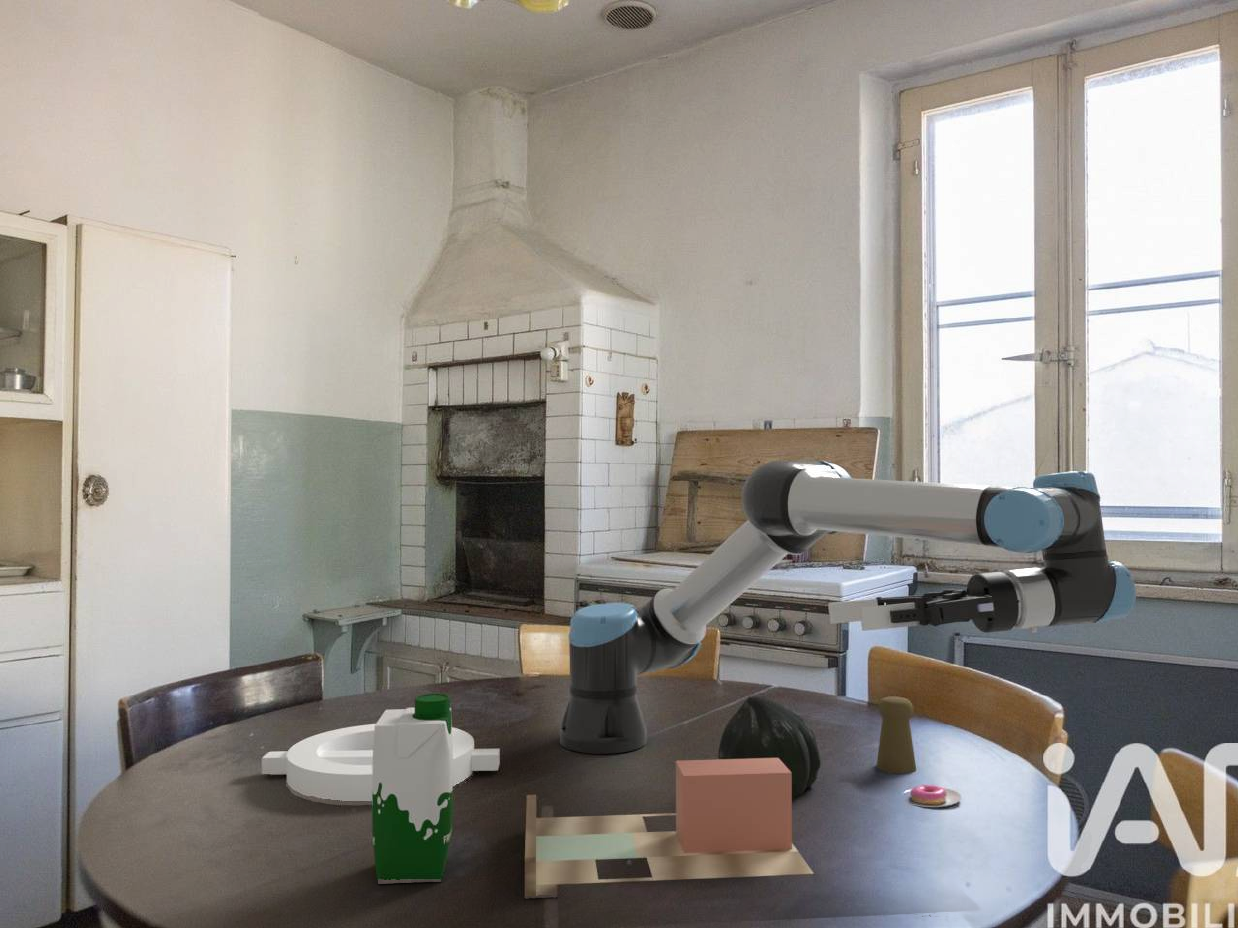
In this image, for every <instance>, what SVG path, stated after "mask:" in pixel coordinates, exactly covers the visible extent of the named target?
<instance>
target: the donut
mask: <svg viewBox="0 0 1238 928" xmlns="http://www.w3.org/2000/svg"><path fill="white" fill-rule="evenodd" d="M907 792H910V797H911V800H912V799H913V800H914V802H915V801H916V802H915V803H918V804H915V803H912V802H911V803H910V802H908V801H906V800H904V802H905V803H907V804H910V805H912V806H916V807H920V806H921V808H928V807H929V808H930V809H933V808H934V809H936V808H937V809H939V807H940V808H946V807H947V808H948V807H951V806H954V805H955V804H958V803H959V802H960V801H961V800H962V795H961V794H960V793H959V792H958V791H957V790H956V791H955V790H954V789H950V788H946V787H941V786H938V785H934V784H923V785H918V786H915V787H913V788H911V789H907V790H905V791H903V792H902V793H901V794H900V795H901V796H902V795H903V794H904V793H907ZM947 797H948V798H947ZM946 798H947V799H950V802H949V804H947V803H946V804H947V805H946V804H945V805H944V803H945V801H947V800H946ZM926 804H929V805H926ZM936 804H938V805H936ZM941 804H943V805H941Z"/></svg>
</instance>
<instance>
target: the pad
mask: <svg viewBox="0 0 1238 928" xmlns="http://www.w3.org/2000/svg"><path fill="white" fill-rule="evenodd" d="M588 859H595V861H596V860H597V861H599V860H621V859H622V860H623V859H624V860H625V859H639V858H638V855H637V852H636V848H635V844H634V841H633V837H632V833H614V834H586V835H558V836H536V862H537V861H561V860H562V861H563V860H588Z"/></svg>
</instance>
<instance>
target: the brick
mask: <svg viewBox="0 0 1238 928" xmlns="http://www.w3.org/2000/svg"><path fill="white" fill-rule="evenodd" d="M792 799H793V795H792V773H791V771H790V770H789V769H788V768H787V767H786V766H785V765H784V764H783V762H782V761H781V760H780V759H779V758H751V759H717V758H716V759H693V760H692V759H688V760H687V759H686V760H675V813H676V816H675V831H676V835H677V837H678V840H679V842H680V845H681V847H682V850H683V853H700V852H726V851H752V850H778V849H792V843H793V802H792V801H793V800H792Z"/></svg>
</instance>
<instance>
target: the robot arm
mask: <svg viewBox="0 0 1238 928" xmlns="http://www.w3.org/2000/svg"><path fill="white" fill-rule="evenodd" d="M1096 481H1097V480H1096V477H1095V475H1094V474H1093V473H1092V472H1090V471H1088V470H1076V471H1066V472H1065V471H1064V472H1055V473H1049V474H1048V473H1047V474H1043V475H1038V476H1037V477H1035V478H1034V480H1033V482H1032V487H1024V486H1022V487H1020V486H1017V487H1016V486H992V485H981V484H978V485H977V484H961V483H942V482H927V481H908V480H907V481H905V480H888V479H887V480H886V479H871V478H853V477H852V476H851V475H850V474H849V473H848V472H847V471H846V470H845V469H844V468H842V467H841V466H839V465H837V464H835V463H831V462H827V461H824V460H773V461H768V462H765V463H763V464H761V465H759V466H758V467H757V468H755V469H753V471H752V472H751V473H750V474H749V475H748V477H746V480H745V482H744V484H743V485H742V486H743V487H742V489H741V495H740V496H741V506H742V511H743V513H744V515H745V517H746V519H747V520H746V521H745V522H744V523H743V524H742V525H740V526H739V528H737V529H736V531H734V532H733V533H732V534H731V535H730V536H729V537H727V539H726V540H724V542H722V543H721V544H720V545H719V546H718V547H717V548H715V550H714V551H713V552H712V553H711V554H710V555H709V556H707V557H706V558H705V559H704V560H703V561H702V562H701V563H700V564H699V565H698V566H696V568H694V569H693V571H692V572H690V574H688V575H687V576H686V577H685V578H684V579H683V580H682V581H681V582H680V583H678V585H677V586H675V587H674V588H667V587H666V588H663V589H662V588H661V589H660V590H659V591H658V592H656V594H655V595H654V596H652V597H651V598H650V599H649V600H648V601H647V602H646V603H644V605H642V606H640V607H637V608H636V607H635V606H634V605H633V604H631V603H626V602H606V603H597V604H592V605H589V606H584V607H583V608H580V609H578V610H576V611H575V612H574V613H573V615H572V616H571V618H570V625H569V626H570V627H569V628H570V629H569V634H568V641H569V642H568V643H569V699H568V702H567V705H566V710H565V712H564V715H563V718H562V722H561V725H560V728H559V745H561V747H564V748H565V749H568V750H571V751H573V752H578V753H583V754H597V755H599V754H600V755H602V754H603V755H606V754H607V755H609V754H621V753H627V752H631V751H635V750H638V749H641V748H643V747H644V746H646V745H647V741H648V738H647V737H648V732H647V727H646V723H645V721H644V716H643V713H642V710H641V708H640V703H639V701H638V700H639V699H638V696H637V693H638V692H637V688H638V687H637V684H638V683H637V676H638V675H642V674H647V673H652V672H655V671H661V670H665V669H666V670H669V669H675V668H677V667H680V666H682V665H684V664H686V663H688V662H690V661H691V660H692V659H694V657H695V656H696V655H697V654H698V653H699V650H700V649H701V646H702V642H701V641H703V639H704V638H705V636H706V634H707V625H708V624H709V623H710V622H711V621H713V620H714V619H715V618H716V617H717V616H718V615H720V614H721V612H723V611H724V610H725V609H727V607H729V606H730V605H731V604H732V603H734V602H735V600H737V599H738V598H739V597H741V596H742V594H744V593H745V592H747V590H748V589H749V588H750V587H752V586H753V585H754V584H755V583H756V582H757V581H758V580H760V579H761V578H762V577H763V576H764V575H766V573H768V572H769V571H770V570H771V569H772V568H773V567H775V566H776V565H777V564H779V562H780V561H782V560H783V558H785V557H786V556H787V555H794V556H800V555H802V554H804V553H805V552H806V551H808V550H809V549H810V548H811V547H813V546H814V545H815V543H817V542H819V540H820V539H822V538H823V537H824V536H825V535H834V534H837V533H838V532H840V533H850V534H862V535H863V534H864V535H871V536H881V537H882V536H884V537H893V538H903V539H914V540H915V539H916V540H925V541H931V542H933V541H934V542H944V543H954V544H964V545H973V546H974V545H976V546H977V545H978V546H986V547H992V548H1001V549H1004V550H1007V551H1009V552H1014V553H1020V554H1021V553H1022V554H1023V553H1024V554H1025V553H1026V554H1034V553H1038V552H1041V554H1042V556H1041V557H1042V561H1043V566H1044V567H1031V568H1030V567H1029V568H1018V569H1007V570H1005V571H1003V572H1002V571H992V572H990V571H989V572H982V573H979V572H978V573H975V574H972V575H971V577H970V578H969V580H968V582H967V585H966V587H967V588H966V589H957V588H953V589H952V588H950V589H945V590H943V591H932V592H926V593H923V594H918V595H917V594H916V595H904V596H903V595H902V596H889V597H881V596H877V597H875V598H870V599H861V600H860V599H858V600H849V601H837V602H828V603H827V604H828V606H827V607H828V614H829V615H828V616H829V623H830V624H831V625H832V624H843V623H844V624H845V623H854V622H860V624H861V630H862V631H864V632H865V631H874V630H875V631H876V630H885V629H886V630H887V629H896V628H906V627H916V626H918V624H919V625H920V626H924V627H925V626H934V627H939V626H941V625H946V624H948V625H949V624H953V623H967V622H970V621H972V623H973V625H974V626H975V628H976V629H977V630H979V631H980V632H982V633H987V634H988V633H994V632H995V633H999V632H1007V631H1011V630H1012V629H1014V630H1023V629H1025V630H1026V629H1028V631H1029V632H1030V633H1035V634H1036V633H1037V632H1038V628H1039V627H1040V628H1043V627H1056V626H1057V627H1058V626H1068V625H1070V626H1071V625H1079V624H1081V625H1082V624H1091V623H1092V624H1093V623H1096V624H1097V623H1099V622H1104V621H1110V620H1111V621H1112V620H1116V619H1122V618H1124V617H1126V616H1128V615H1129V614H1130V613H1131V612H1132V611H1133V608H1134V606H1135V603H1136V599H1137V591H1136V590H1137V588H1136V584H1135V583H1136V582H1135V581H1134V580H1132V579H1131V572H1130V571H1129V569H1128V568H1127V567H1126V566H1125V564H1122V563H1121V562H1119V561H1114V560H1113V561H1112V560H1109V555H1108V554H1107V553H1108V552H1107V546H1106V538H1105V532H1104V531H1105V530H1104V525H1103V517H1102V510H1101V495H1100V494H1099V490H1098V487H1097V482H1096Z"/></svg>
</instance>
